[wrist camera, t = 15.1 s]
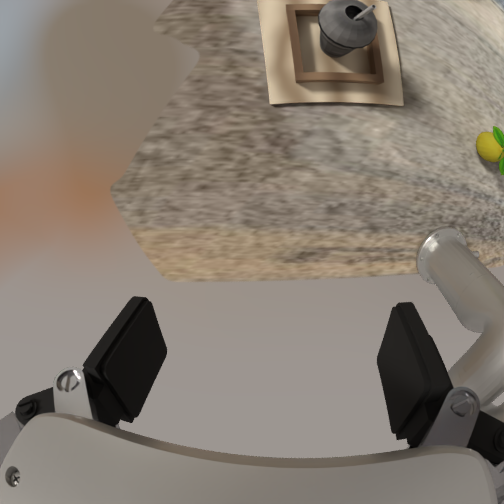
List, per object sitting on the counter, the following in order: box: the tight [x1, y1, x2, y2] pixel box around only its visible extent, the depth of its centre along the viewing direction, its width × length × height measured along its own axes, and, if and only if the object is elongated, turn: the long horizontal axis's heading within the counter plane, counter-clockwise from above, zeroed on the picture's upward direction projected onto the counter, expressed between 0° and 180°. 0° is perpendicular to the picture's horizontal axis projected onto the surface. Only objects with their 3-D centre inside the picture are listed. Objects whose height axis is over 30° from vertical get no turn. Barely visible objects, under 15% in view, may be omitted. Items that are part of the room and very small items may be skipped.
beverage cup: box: [318, 0, 378, 58], centre depth 24 cm, size 7×7×20 cm
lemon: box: [476, 126, 504, 175], centre depth 31 cm, size 7×6×10 cm
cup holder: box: [257, 0, 404, 106], centre depth 32 cm, size 22×20×4 cm
